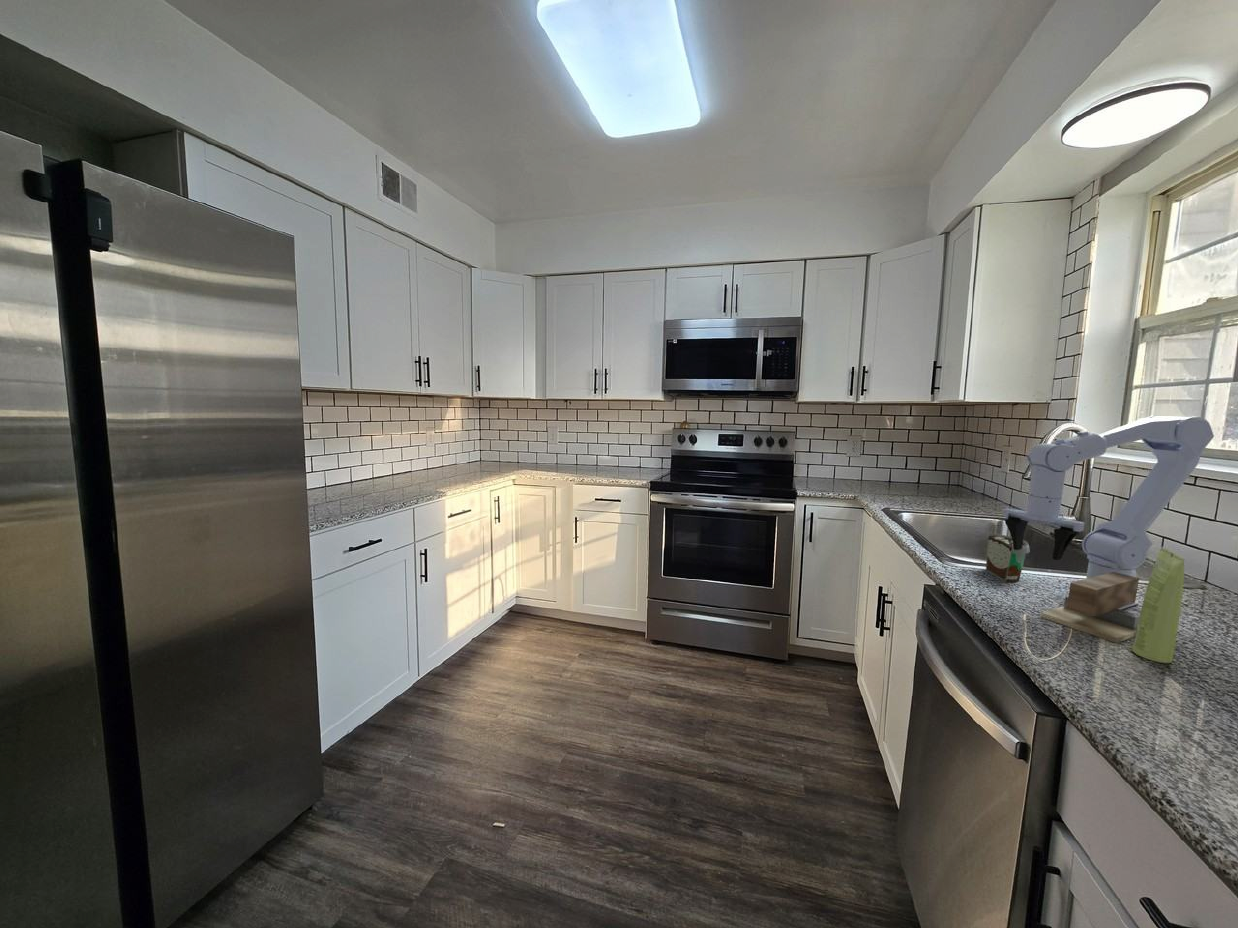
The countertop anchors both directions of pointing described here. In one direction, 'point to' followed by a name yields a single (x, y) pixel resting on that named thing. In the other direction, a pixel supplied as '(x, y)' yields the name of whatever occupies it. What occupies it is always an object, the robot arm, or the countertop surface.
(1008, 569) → the food container
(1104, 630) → the balance stand
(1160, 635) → the tube
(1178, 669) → the countertop surface
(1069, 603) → the walnut bar
